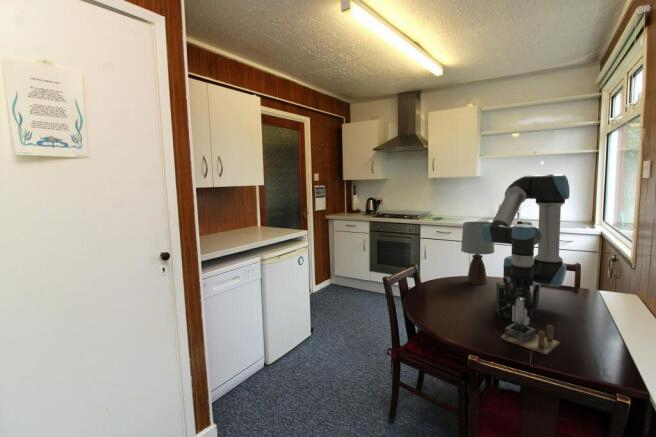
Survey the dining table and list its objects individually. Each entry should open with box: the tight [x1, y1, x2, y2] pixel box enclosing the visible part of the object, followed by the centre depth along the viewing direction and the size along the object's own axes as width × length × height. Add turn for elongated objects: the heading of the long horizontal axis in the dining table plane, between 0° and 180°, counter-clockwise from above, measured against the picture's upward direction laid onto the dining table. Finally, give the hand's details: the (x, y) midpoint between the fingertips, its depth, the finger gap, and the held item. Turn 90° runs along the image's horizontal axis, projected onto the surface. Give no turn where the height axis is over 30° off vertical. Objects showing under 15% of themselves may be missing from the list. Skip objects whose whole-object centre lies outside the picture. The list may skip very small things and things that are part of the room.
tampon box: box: [495, 282, 525, 321], centre depth 150 cm, size 11×9×15 cm
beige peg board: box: [500, 322, 560, 355], centre depth 127 cm, size 16×12×7 cm
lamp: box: [460, 221, 495, 285], centre depth 201 cm, size 19×19×37 cm
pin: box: [514, 297, 527, 333], centre depth 129 cm, size 4×4×14 cm
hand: (520, 322), depth 129 cm, fingers closed on pin, 4 cm apart
